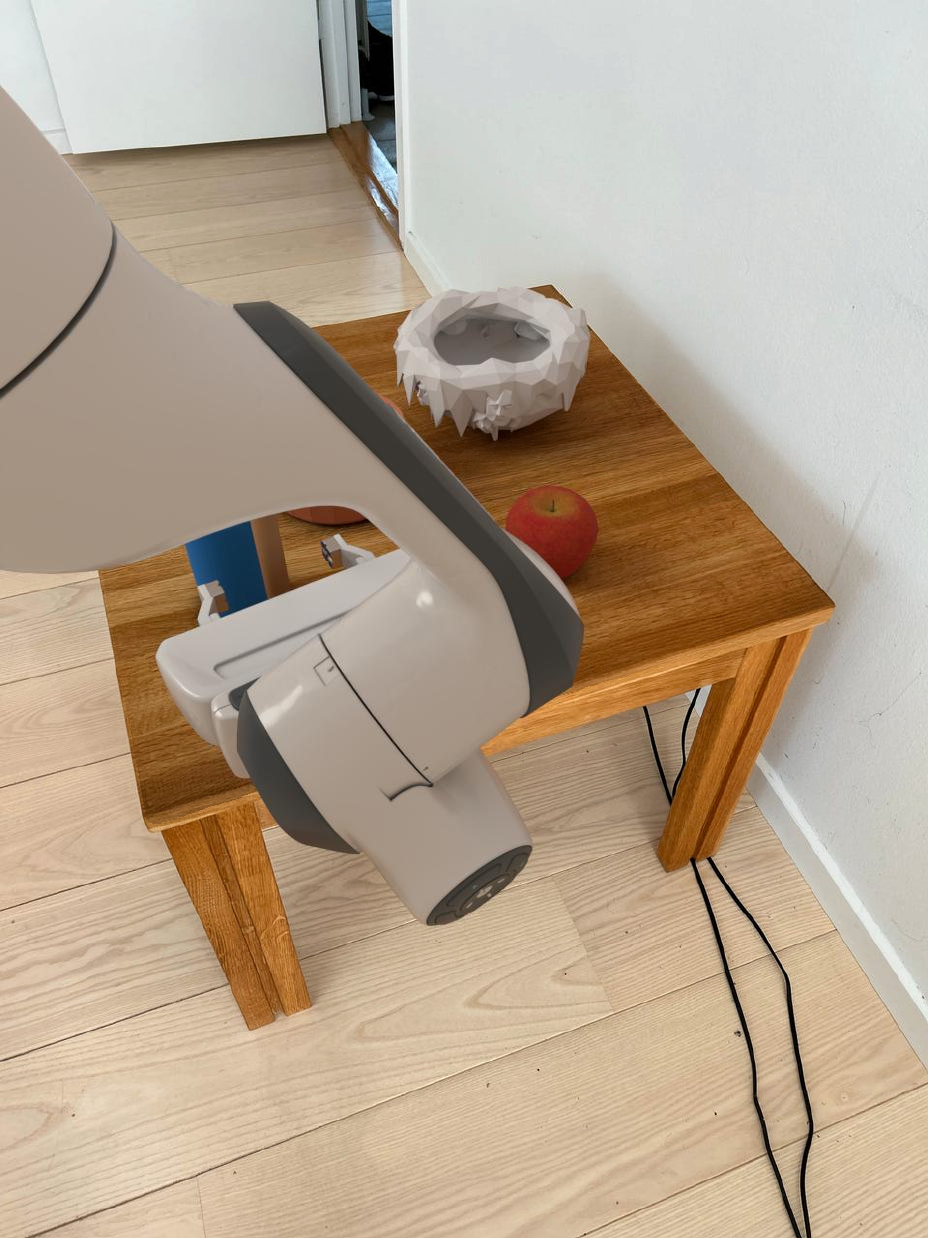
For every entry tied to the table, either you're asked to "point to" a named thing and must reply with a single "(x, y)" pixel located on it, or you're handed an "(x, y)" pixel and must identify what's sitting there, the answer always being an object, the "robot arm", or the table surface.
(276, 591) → the plunger
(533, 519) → the apple
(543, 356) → the bowl
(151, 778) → the table surface
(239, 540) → the beverage can
